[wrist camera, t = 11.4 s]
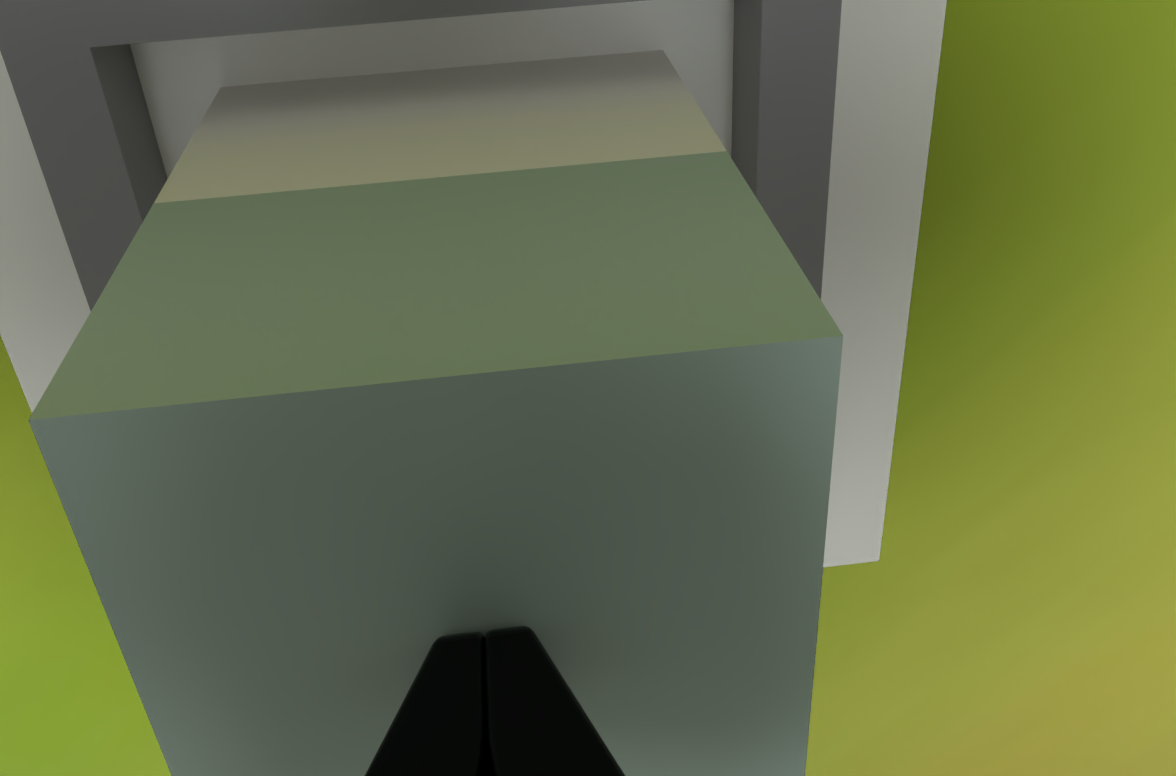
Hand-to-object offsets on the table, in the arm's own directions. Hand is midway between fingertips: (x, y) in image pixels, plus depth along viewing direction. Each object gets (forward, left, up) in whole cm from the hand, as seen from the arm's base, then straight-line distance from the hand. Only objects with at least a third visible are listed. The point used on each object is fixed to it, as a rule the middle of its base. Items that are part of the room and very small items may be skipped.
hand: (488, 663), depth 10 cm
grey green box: (0, 0, -8) cm, 8 cm away
